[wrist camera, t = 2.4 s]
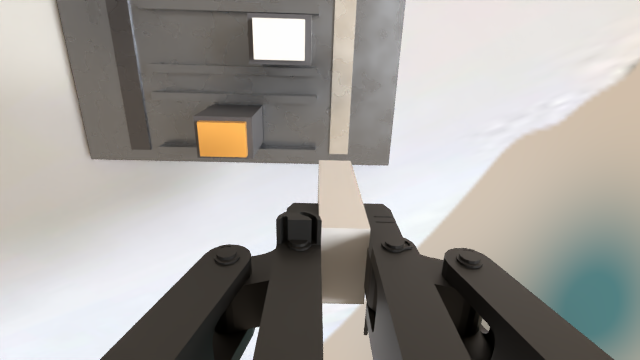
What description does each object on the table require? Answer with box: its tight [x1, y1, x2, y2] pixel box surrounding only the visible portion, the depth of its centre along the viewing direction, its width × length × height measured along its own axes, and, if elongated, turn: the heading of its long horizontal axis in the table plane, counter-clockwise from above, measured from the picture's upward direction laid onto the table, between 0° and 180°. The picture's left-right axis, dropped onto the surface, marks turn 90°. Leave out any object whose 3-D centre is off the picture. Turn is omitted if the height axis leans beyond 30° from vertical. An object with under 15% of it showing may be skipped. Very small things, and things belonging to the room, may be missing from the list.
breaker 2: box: [247, 13, 312, 66], centre depth 24 cm, size 4×3×6 cm
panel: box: [56, 0, 405, 165], centre depth 27 cm, size 26×20×2 cm
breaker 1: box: [193, 105, 263, 159], centre depth 26 cm, size 4×3×6 cm
